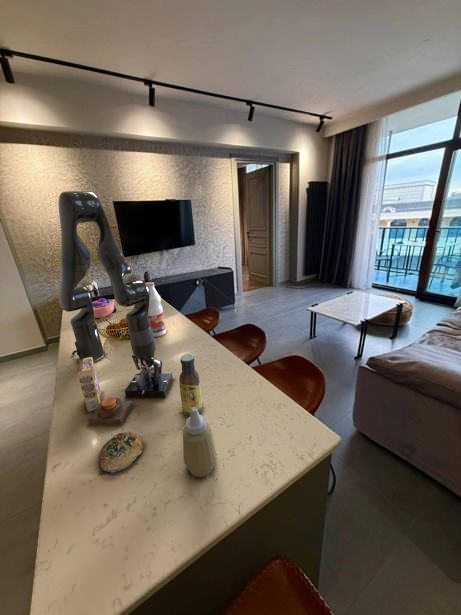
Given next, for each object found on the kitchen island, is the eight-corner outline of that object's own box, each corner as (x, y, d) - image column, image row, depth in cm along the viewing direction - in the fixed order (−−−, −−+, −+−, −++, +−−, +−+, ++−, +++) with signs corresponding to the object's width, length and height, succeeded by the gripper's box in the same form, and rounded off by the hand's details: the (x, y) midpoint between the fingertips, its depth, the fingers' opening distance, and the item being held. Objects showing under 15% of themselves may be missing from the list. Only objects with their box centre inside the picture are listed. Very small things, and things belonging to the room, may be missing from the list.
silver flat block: (140, 389, 88) (138, 376, 86) (137, 387, 89) (134, 375, 87) (160, 375, 95) (158, 363, 93) (157, 374, 96) (154, 362, 94)
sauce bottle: (179, 415, 80) (170, 360, 73) (189, 401, 86) (182, 350, 79) (197, 420, 78) (190, 364, 71) (206, 406, 83) (200, 353, 76)
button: (100, 410, 79) (99, 406, 78) (106, 401, 82) (105, 397, 82) (112, 410, 78) (111, 406, 78) (118, 401, 82) (117, 397, 82)
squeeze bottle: (186, 453, 67) (177, 398, 61) (217, 450, 67) (211, 395, 61) (183, 484, 59) (173, 424, 53) (218, 480, 60) (212, 420, 54)
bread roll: (113, 435, 74) (111, 422, 72) (150, 440, 73) (149, 428, 71) (89, 472, 64) (86, 459, 62) (132, 480, 63) (130, 466, 61)
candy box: (102, 408, 85) (91, 369, 80) (87, 412, 83) (75, 373, 78) (102, 392, 93) (92, 356, 87) (88, 396, 91) (77, 359, 86)
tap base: (124, 401, 88) (122, 393, 87) (139, 377, 100) (137, 370, 99) (163, 401, 87) (162, 393, 85) (174, 377, 99) (173, 370, 98)
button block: (90, 424, 78) (87, 414, 77) (103, 406, 86) (101, 396, 84) (121, 424, 78) (118, 414, 76) (132, 406, 85) (130, 396, 84)
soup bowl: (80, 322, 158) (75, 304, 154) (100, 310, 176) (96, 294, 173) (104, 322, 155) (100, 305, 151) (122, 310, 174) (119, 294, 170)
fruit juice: (166, 328, 142) (159, 280, 132) (165, 336, 134) (157, 284, 124) (149, 330, 141) (140, 281, 131) (147, 338, 132) (137, 286, 122)
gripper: (120, 340, 87) (130, 382, 93) (147, 349, 79) (156, 394, 85) (138, 331, 93) (147, 371, 99) (165, 339, 85) (172, 382, 91)
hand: (151, 382), depth 92 cm, fingers open, 4 cm apart
